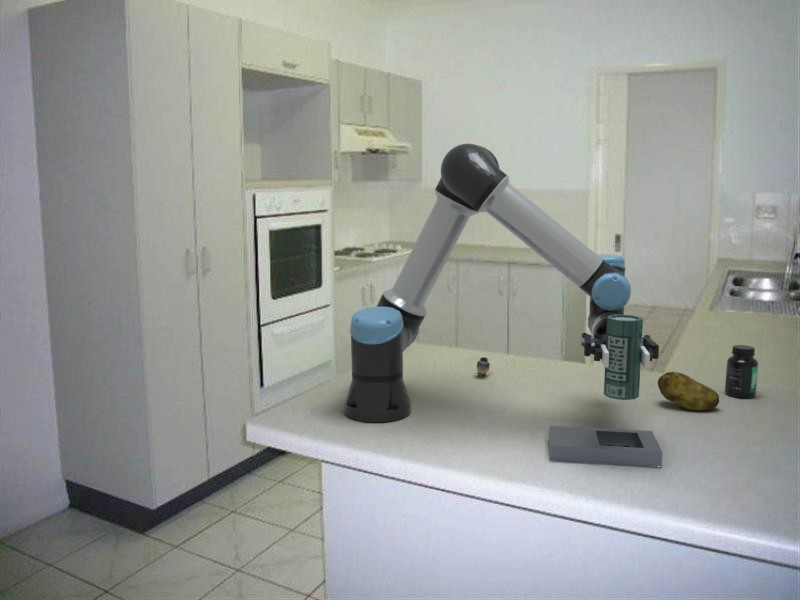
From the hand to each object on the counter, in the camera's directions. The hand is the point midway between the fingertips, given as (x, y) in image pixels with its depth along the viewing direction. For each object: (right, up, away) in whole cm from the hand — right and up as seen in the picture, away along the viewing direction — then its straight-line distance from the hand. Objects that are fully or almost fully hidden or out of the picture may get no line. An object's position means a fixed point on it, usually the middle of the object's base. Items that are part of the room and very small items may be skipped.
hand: (626, 360), depth 127 cm
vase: (-19, -10, +61) cm, 65 cm away
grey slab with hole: (-2, -19, +9) cm, 21 cm away
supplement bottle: (+42, -12, +44) cm, 62 cm away
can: (+1, -7, +6) cm, 10 cm away
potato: (+25, -14, +35) cm, 45 cm away
